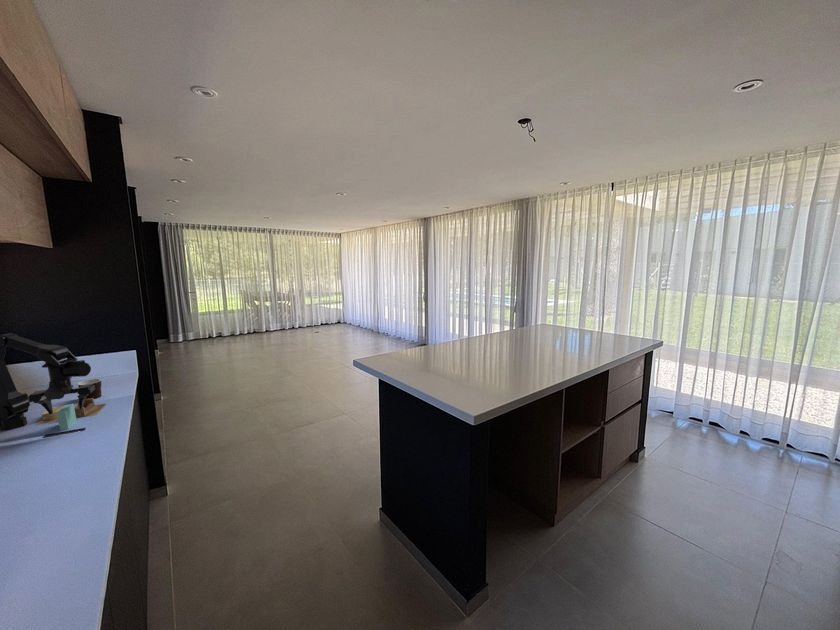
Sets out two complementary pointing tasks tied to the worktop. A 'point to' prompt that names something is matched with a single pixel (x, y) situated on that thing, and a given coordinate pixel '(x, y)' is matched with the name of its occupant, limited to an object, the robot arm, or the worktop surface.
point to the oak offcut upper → (55, 410)
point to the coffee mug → (97, 391)
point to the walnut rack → (86, 411)
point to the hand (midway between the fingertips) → (66, 411)
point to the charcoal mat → (63, 433)
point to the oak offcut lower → (50, 418)
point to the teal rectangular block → (66, 416)
